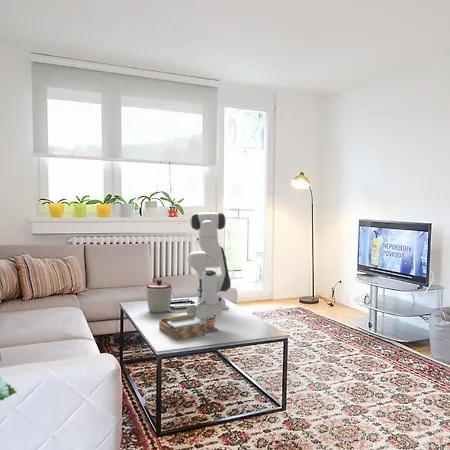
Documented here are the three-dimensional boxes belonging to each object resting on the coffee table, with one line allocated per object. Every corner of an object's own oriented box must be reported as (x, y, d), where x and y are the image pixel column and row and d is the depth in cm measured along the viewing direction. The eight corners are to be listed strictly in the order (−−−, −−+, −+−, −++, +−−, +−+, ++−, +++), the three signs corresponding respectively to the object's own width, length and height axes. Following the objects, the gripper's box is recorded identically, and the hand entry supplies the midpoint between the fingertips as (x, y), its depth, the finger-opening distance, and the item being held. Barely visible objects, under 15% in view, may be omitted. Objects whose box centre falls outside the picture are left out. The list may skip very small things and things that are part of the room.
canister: (176, 313, 285) (176, 281, 283) (148, 315, 278) (148, 282, 276) (169, 306, 301) (169, 276, 300) (142, 308, 295) (142, 277, 293)
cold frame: (187, 324, 260) (187, 314, 260) (205, 334, 242) (205, 324, 241) (159, 329, 251) (159, 318, 251) (175, 340, 232) (175, 329, 232)
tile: (211, 327, 256) (211, 325, 256) (218, 330, 249) (218, 329, 249) (199, 329, 252) (199, 327, 252) (206, 332, 245) (206, 331, 245)
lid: (195, 318, 251) (195, 313, 251) (204, 323, 242) (204, 317, 242) (167, 323, 242) (167, 317, 241) (174, 327, 233) (174, 321, 233)
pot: (209, 325, 256) (209, 316, 255) (216, 327, 252) (217, 318, 252) (203, 328, 251) (203, 318, 251) (211, 330, 248) (211, 320, 247)
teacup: (188, 323, 264) (188, 309, 263) (185, 318, 274) (185, 305, 274) (211, 321, 267) (211, 308, 267) (206, 316, 278) (207, 304, 277)
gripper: (202, 304, 239) (202, 329, 240) (224, 297, 256) (223, 320, 257) (193, 302, 243) (193, 327, 244) (215, 295, 260) (214, 318, 261)
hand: (209, 323), depth 251 cm, fingers open, 8 cm apart
